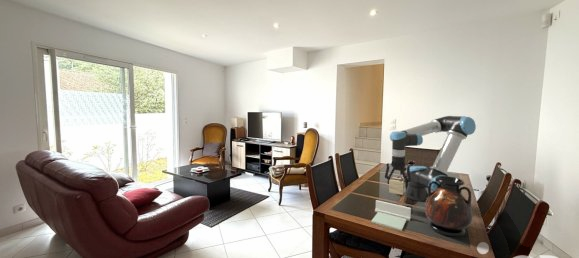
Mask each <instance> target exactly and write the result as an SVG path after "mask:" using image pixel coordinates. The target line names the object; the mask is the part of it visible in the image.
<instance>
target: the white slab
mask: <svg viewBox="0 0 579 258" xmlns="http://www.w3.org/2000/svg"><path fill="white" fill-rule="evenodd" d="M374 212H375V213H378V212H380V213H384V214H388V215H392V216H396V217H400V218H404V219H406V221H411V219H412V218H411V217H412V207H409V206H408V207H407V206H403V205H400V204H395V203H390V202H385V201H382V200H377V199H376V200H375V209H374Z"/></svg>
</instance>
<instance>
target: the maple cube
mask: <svg viewBox="0 0 579 258" xmlns="http://www.w3.org/2000/svg"><path fill="white" fill-rule="evenodd" d="M404 182H405V180H404V178H400V177H395V176H391V178H390V182H389V184H388V190H389V191H388V193H389V194H390V193H391V194H396V195H402V196H403V195H405V192H404Z"/></svg>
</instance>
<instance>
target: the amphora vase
mask: <svg viewBox="0 0 579 258" xmlns="http://www.w3.org/2000/svg"><path fill="white" fill-rule="evenodd" d="M435 180H436V181H438V182H439V184H438V183H437V182H435V181H431V182H430V183H429V187H428V188H427V193H428V197H427V199H426V201H424V208H423V209H424V213H425V216H426V217H427V219H428V220H429V221H428V226H429V227H430V228H431V230H433V231H434V232H436V233H438V234H440V235H444V236H448V237H454V238H457V237H458V238H459V237H462V236H465V234H466V229H467V228H469V226H470V225H471V224H472V222H473V218H474V214H473V213H474V212H473V209H472V207H471V206H472V190H471V189H470V188H469V187H467V186H464V185H465V183H466V182H465V181H464V180H463V179H461V178H458V177H455V176H449V175H448V176H438V177H436V178H435ZM432 184H436V185H437V189H436V190H435V191H433V190H431V185H432ZM464 190H465V191H467V193H468V194H467V195H468V197H467V198H466V196H464V194H463V193H462V191H464Z"/></svg>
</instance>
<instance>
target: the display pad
mask: <svg viewBox="0 0 579 258" xmlns="http://www.w3.org/2000/svg"><path fill="white" fill-rule="evenodd" d="M371 223H372V224H376V225H380V226H383V227H386V228H390V229H393V230H397V231H400V232H403V229H404V226H405V224H406V223H407V220H406V219H404V218H400V217H396V216H392V215H388V214H384V213H380V212H376V214H375V215H374V217H373V218H372V219H371Z"/></svg>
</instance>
